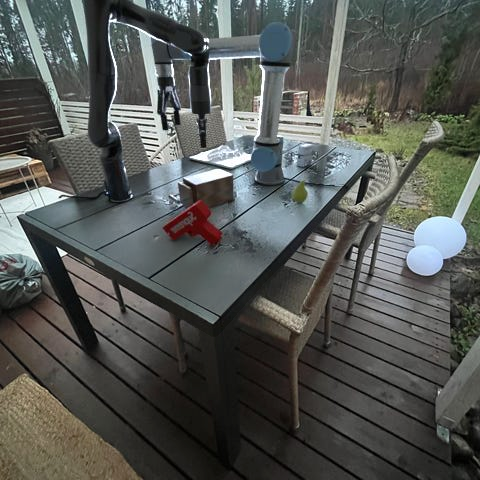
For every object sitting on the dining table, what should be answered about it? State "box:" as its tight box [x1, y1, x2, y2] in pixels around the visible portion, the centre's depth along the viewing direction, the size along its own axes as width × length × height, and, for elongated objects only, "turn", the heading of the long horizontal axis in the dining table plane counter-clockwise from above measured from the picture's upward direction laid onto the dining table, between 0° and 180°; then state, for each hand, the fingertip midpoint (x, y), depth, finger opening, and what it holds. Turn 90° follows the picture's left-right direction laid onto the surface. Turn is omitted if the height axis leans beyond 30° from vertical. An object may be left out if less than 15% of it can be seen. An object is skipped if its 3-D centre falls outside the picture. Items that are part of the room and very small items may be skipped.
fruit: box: [291, 174, 311, 204], centre depth 118 cm, size 7×8×12 cm
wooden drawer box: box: [182, 168, 234, 209], centre depth 120 cm, size 19×11×12 cm, turn 129°
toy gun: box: [162, 200, 224, 248], centre depth 93 cm, size 18×4×15 cm
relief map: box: [189, 144, 251, 170], centre depth 177 cm, size 27×35×5 cm
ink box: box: [296, 143, 314, 168], centre depth 163 cm, size 8×5×12 cm, turn 135°
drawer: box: [167, 181, 196, 209], centre depth 116 cm, size 23×10×10 cm, turn 129°
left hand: (203, 144), depth 107 cm, fingers open, 8 cm apart
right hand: (172, 127), depth 131 cm, fingers open, 13 cm apart
